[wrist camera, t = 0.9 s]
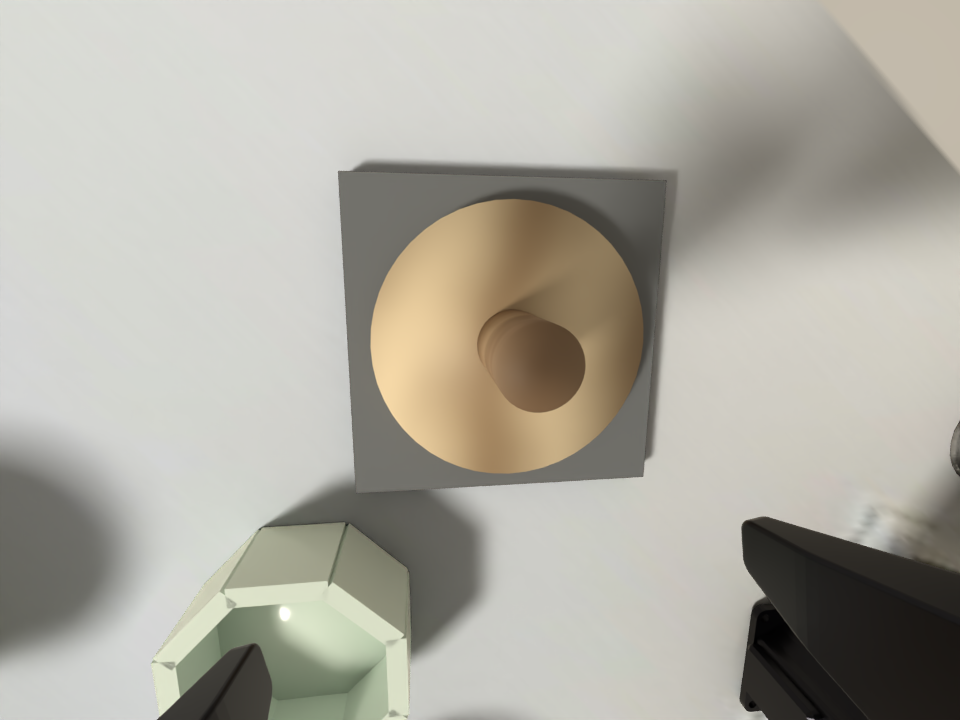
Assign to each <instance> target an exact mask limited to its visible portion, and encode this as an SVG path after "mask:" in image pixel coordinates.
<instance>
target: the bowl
mask: <svg viewBox="0 0 960 720" xmlns="http://www.w3.org/2000/svg"><path fill="white" fill-rule="evenodd" d="M250 643H256V644H258V645H259V646H260V648H261V650H262V653H263V656H264V659H265V662H266V665H267V668H268V671H269V674H270V677H271V680H272V699H271V705H270V710H269V716H268V720H407V716H408V715H409V701H410V664H411V614H410V582H409V572H407V568H406V567H405V566H404V565H402V564H401V563H400V562H398V561H397V560H396V559H395V558H393V557H392V556H391V555H389V554H388V553H387V552H386V551H384V550H383V549H382V548H381V547H379V546H378V545H377V544H375V543H374V542H373V541H372V540H370V539H369V538H368V537H366V536H365V535H364V534H363V533H361V532H360V531H359V530H357V529H356V528H355V527H354V526H352V525H351V524H350V523H349V524H348V525H347V526H346V524H345V522H340V523H325V524H309V525H294V526H279V527H264V528H262V529H261V531H260V530H257V531H256V532H255V533H254V534H253V535H252V536H251V537H250V538H249V539H248V540H247V541H246V542H245V543H244V544H243V545H242V546H241V547H240V548H239V549H238V550H237V551H236V553H235V554H234V555H233V556H232V557H231V558H230V559H229V560H228V561H227V562H226V563H225V564H224V565H223V566H222V567H221V568H220V569H219V570H218V571H217V572H216V573H215V574H214V575H213V576H212V577H211V578H210V579H209V580H208V581H207V582H206V583H205V584H204V585H203V587H202V588H201V590H200V591H199V593H198V594H197V595H196V597H195V598H194V600H193V601H192V603H191V604H190V606H189V607H188V608H187V610H186V611H185V613H184V614H183V616H182V617H181V619H180V620H179V622H178V623H177V624H176V626H175V627H174V629H173V630H172V632H171V633H170V635H169V636H168V637H167V639H166V640H165V642H164V643H163V645H162V646H161V648H160V649H159V651H158V652H157V653H156V655H155V656H154V658H153V661H152V663H151V666H152V672H153V678H154V685H155V691H156V697H157V703H158V709H159V715H160V716H161V715H162V714H163V713H164V712H165V711H166V710H168V709H169V708H170V707H171V706H172V705H173V704H174V703H175V702H176V701H177V700H178V699H179V698H180V697H181V696H182V695H183V694H184V693H185V692H186V691H187V690H188V689H189V688H190V687H191V686H193V685H194V684H195V683H196V682H197V681H198V680H199V679H200V678H201V677H202V676H203V675H204V674H205V673H206V672H207V671H208V670H209V669H210V668H211V667H212V666H213V665H214V664H215V663H216V662H217V661H219V660H220V659H221V658H222V657H223V656H224V655H225V654H226V653H227V652H228V651H229V650H230V649H232V648H234V647H238V646H242V645H246V644H250Z"/></svg>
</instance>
